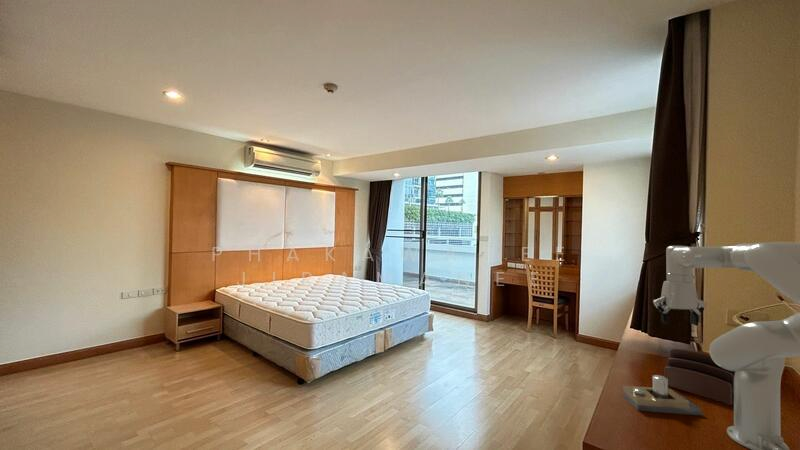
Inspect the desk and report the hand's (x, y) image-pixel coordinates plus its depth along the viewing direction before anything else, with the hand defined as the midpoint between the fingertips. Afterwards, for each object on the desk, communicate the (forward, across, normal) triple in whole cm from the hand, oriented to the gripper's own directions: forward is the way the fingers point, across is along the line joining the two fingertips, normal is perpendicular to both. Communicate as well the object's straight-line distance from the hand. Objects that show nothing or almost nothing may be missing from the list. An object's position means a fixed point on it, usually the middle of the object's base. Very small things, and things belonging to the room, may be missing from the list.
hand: (679, 323), depth 123 cm
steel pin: (+28, +10, +6) cm, 31 cm away
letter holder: (+29, -11, -8) cm, 32 cm away
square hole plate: (+28, +10, +6) cm, 31 cm away
